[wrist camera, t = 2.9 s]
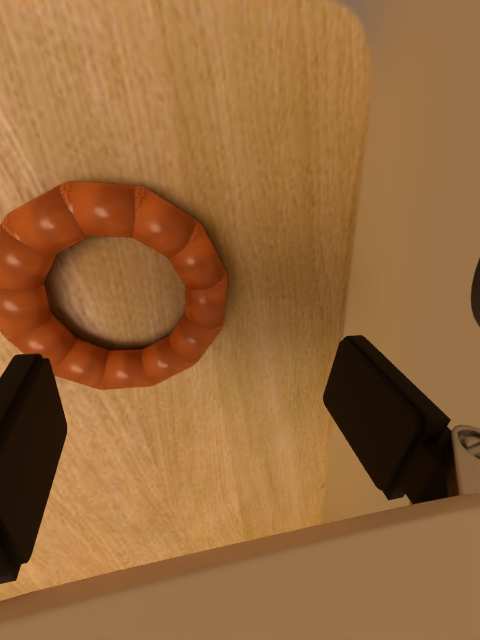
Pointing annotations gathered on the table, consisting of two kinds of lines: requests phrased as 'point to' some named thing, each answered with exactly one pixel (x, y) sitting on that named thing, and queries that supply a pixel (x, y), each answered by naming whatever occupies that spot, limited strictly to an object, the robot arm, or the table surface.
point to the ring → (106, 221)
